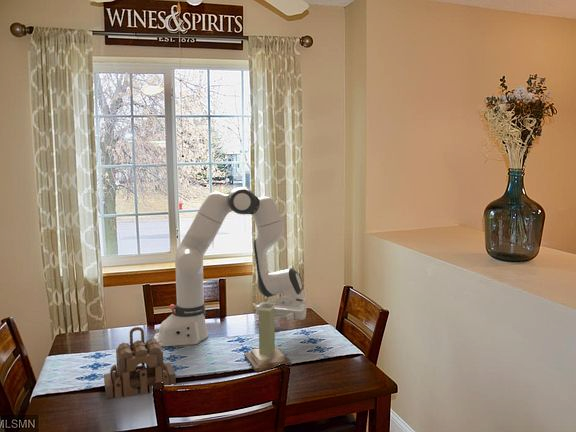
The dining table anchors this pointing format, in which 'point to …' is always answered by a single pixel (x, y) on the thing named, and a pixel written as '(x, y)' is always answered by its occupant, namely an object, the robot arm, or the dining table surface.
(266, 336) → the olive pillar
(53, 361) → the dining table surface
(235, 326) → the dining table surface
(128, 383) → the wooden puzzle
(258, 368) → the plinth
